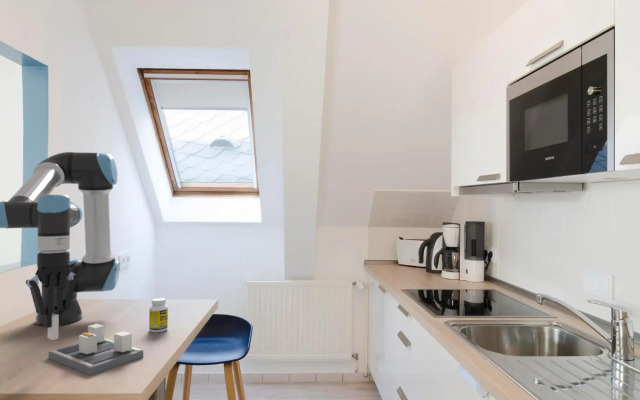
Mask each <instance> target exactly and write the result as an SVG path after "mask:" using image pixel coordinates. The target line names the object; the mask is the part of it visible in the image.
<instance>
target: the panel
mask: <svg viewBox="0 0 640 400" xmlns="http://www.w3.org/2000/svg"><path fill="white" fill-rule="evenodd" d="M47 354H48V357H47V358H48V359H49V360H51V361H54V362H56V363H59V364H60V365H63V366H66V367H67V368H71V369H73V370H77V371H78V372H81V373H83V374H86V375H88V376H92V375H96V374H98V373H101V372H104V371H107V370H109V369H113V368H116V367H118V366H122V365H125V364H127V363H130V362H133V361H136V360H139V359H141V358H144V350H143V349H141V348H138V347H135V346H132V349H131V350H128V351H125V352H119V351H116V350H114V339H113V340H112V339H109V338H106V337H104V341H102V342H98V343H97V351H96V352H93V353H89V354H84V353H82V352H79V342H78V343H76V344H71V345H67V346H64V347H60V348H57V349H54V350H50V351H48V353H47Z"/></svg>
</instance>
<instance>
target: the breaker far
mask: <svg viewBox="0 0 640 400" xmlns="http://www.w3.org/2000/svg"><path fill="white" fill-rule="evenodd" d="M87 333H92V334H95V335H97V343H98V342H102V341H104V338H105V325H104V324H103V325H102V324H100V323H95V324H90V325H87Z"/></svg>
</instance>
